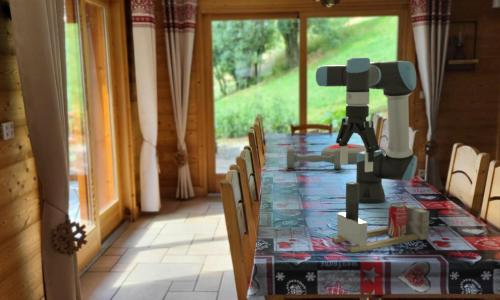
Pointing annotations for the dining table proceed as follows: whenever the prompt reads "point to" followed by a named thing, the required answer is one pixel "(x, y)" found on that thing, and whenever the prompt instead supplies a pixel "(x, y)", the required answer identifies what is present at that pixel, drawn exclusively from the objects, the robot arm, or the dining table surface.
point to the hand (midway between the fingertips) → (355, 168)
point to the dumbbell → (313, 158)
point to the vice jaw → (352, 218)
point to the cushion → (352, 151)
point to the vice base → (414, 227)
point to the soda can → (397, 219)
